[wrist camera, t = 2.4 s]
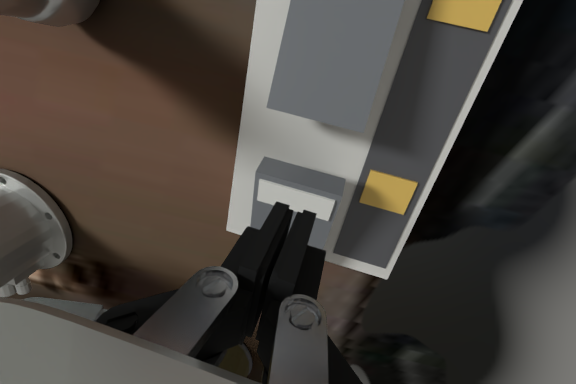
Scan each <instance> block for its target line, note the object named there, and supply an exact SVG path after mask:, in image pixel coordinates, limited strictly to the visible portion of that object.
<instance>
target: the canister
mask: <svg viewBox="0 0 576 384" xmlns="http://www.w3.org/2000/svg"><path fill="white" fill-rule="evenodd" d="M218 367H219V368H221V369H224V370H227V371H229V372H232V373H235V374H237V375H240V376H242V377H245V378H247V376H248V375H249V374H250V371H251V369H252V358H251V355H250V352H249V350H248V349H247V347H246V346H245V345H244V344H242V345H240V344H238V345H237V346H234V347H232V348H229V349H227V353H226V355H225V357H224V359H223V360H222V362H221V363H220V365H219V366H218Z"/></svg>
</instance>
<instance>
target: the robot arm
mask: <svg viewBox="0 0 576 384" xmlns="http://www.w3.org/2000/svg"><path fill="white" fill-rule="evenodd" d="M289 207H290V205H287V204H284V203H281V202H277V201H276V203H275V204H274V206H273V208H272V210H271V211H270V213H269V215H268V217H267V218H266V220H265V222H264V224H263V225H262V227H261V229H260V230H259V229H256V228H253V227H249V226H248V227H246V229H245V230H244V232H243V233H242V235H241V236H240V238H239V239H238V241H237V242H236V244H235V245H234V247H233V249H232V250H231V252H230V253H229V255H228V256H227V258H226V259H225V261H224V262H223V264H222V265H221V267H217V266H212V267H206V268H204V269H201V270H199V271H198V272H197V273H195V274H194V275H193V276H192V277H191V278H190V279H189V280H188V281H187V282H186V283H185V284H184V285H183V286H182V287H181V288H180V289H177V290H173V291H169V292H166V293H162V294H158V295H154V296H151V297H147V298H143V299H139V300H136V301H132V302H128V303H125V304H121V305H118V306H115V307H113V308H110V309H109V310H106V309H104V307H103V305H96V304H89V303H81V302H73V301H65V300H57V299H50V298H42V297H31V298H27V299H23V300H20V299H11V298H2V297H8V296H11V295H13V294H15V293H16V292H17V293H18V294H21V295H23V294H27V293H28V292H30V291H31V290H32V286H31V282H30V280H29V278H28V277H29V275H31V274H32V273H34V272H35V271H36V270H38V269H49V268H53V267H55V266H57V265H59V264H60V263H61V262H63V261H64V260H65V259H67V257H68V256H69V255H70V252H71V249H72V234H71V230H70V227H69V224H68V221H67V220H66V218H65V216H64V214H63V212H62V211H61V209H60V208H59V207H58V205H57V204H56V203H55V201H54V200H53V199H52V198H51V197H50V196H49V195H48V194H47V193H46V192H45V191H44V190H43V189H42V188H40V187H39V186H38V185H36V184H35V183H34V182H32V181H31V180H29V179H28V178H26V177H24V176H22V175H20V174H18V173H15V172H12V171H9V170H6V169H0V384H363V383H362V382H361V381H360V379H359V378H358V376H357V375H356V374H355V372H354V371H353V370H352V368H351V367H350V365H349V364H348V363H347V361H346V360H345V358H344V357H343V356H342V354H341V353H340V351H339V350H338V349H337V347H336V346H335V344H334V343H333V342H332V340H331V339H330V337H329V336H328V335H327V317H326V312H325V310H324V308H323V307H322V305H321V304H320V303H319V302H318V301H316V299H317V294H318V290H319V285H320V280H321V275H322V270H323V266H324V261H325V256H326V251H325V250H322V249H319V248H316V247H313V246H309V245H308V242H309V238H310V235H311V232H312V228H313V225H314V221H315V218H316V215H317V213H313V212H310V211H307V210H303V213H301V212H297V214H296V216H295V219H294V221H293V223H292V226H291V228H290V224H291V220H292V216H293V211H294V210H291V209H289ZM289 228H290V231H289ZM288 232H289V233H288ZM262 309H263V310H262ZM261 312H262V314H261ZM260 314H261V318H260V322H259V326H258V331H257V335H256V340H259V345H258V349H257V353H258V355H259V357H260V359H261V361H262V363H263V365H264V367H263V371H262V376H261V382H260V383H258V382H256V381H253V380H250V379H248V378H245V377H242V376H240V375H237V374H235V373H232V372H229V371H227V370H224V369H221V368H219V367H218V366H219V365H220V363H221V362H222V360H223V359H224V357H225V355H226V353H227V349H229V348H232V347H234V346H237V345H238V344H240V345H242V344H243V341H244V339H245V336H248V337H252V334H253V332H254V329H255V327H256V324H257V322H258V319H259V317H260Z"/></svg>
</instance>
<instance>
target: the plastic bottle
mask: <svg viewBox="0 0 576 384" xmlns="http://www.w3.org/2000/svg"><path fill="white" fill-rule="evenodd" d="M99 1H100V0H0V15H5V16H12V17H17V18H20V19H23V20H26V21H30V22H34V23H39V24H44V25H50V26H57V27H60V26H66V25H71V24H77V23H81V22H83V21H85V20H86V19H88V18H89V17H90V16H91V15H92V13H93V12H94V10H95V9H96V7H97V6H98V4H99Z"/></svg>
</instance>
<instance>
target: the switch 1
mask: <svg viewBox="0 0 576 384" xmlns="http://www.w3.org/2000/svg"><path fill="white" fill-rule="evenodd" d="M404 1H405V0H291V1H290V5H289V10H288V14H287V19H286V23H285V28H284V32H283V36H282V41H281V45H280V50H279V54H278V58H277V63H276V67H275V72H274V76H273V80H272V85H271V89H270V94H269V98H268V103H267V107H266V108H269V109H273V110H277V111H281V112H284V113H288V114H292V115H296V116H300V117H303V118H307V119H311V120H315V121H319V122H323V123H326V124H330V125H334V126H338V127H342V128H345V129H349V130H353V131H357V132H361V133H364V130H365V127H366V124H367V120H368V117H369V114H370V111H371V108H372V104H373V101H374V98H375V95H376V91H377V88H378V85H379V82H380V79H381V75H382V72H383V69H384V66H385V62H386V59H387V56H388V53H389V50H390V46H391V43H392V40H393V37H394V33H395V30H396V27H397V24H398V21H399V17H400V14H401V11H402V8H403V4H404Z"/></svg>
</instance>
